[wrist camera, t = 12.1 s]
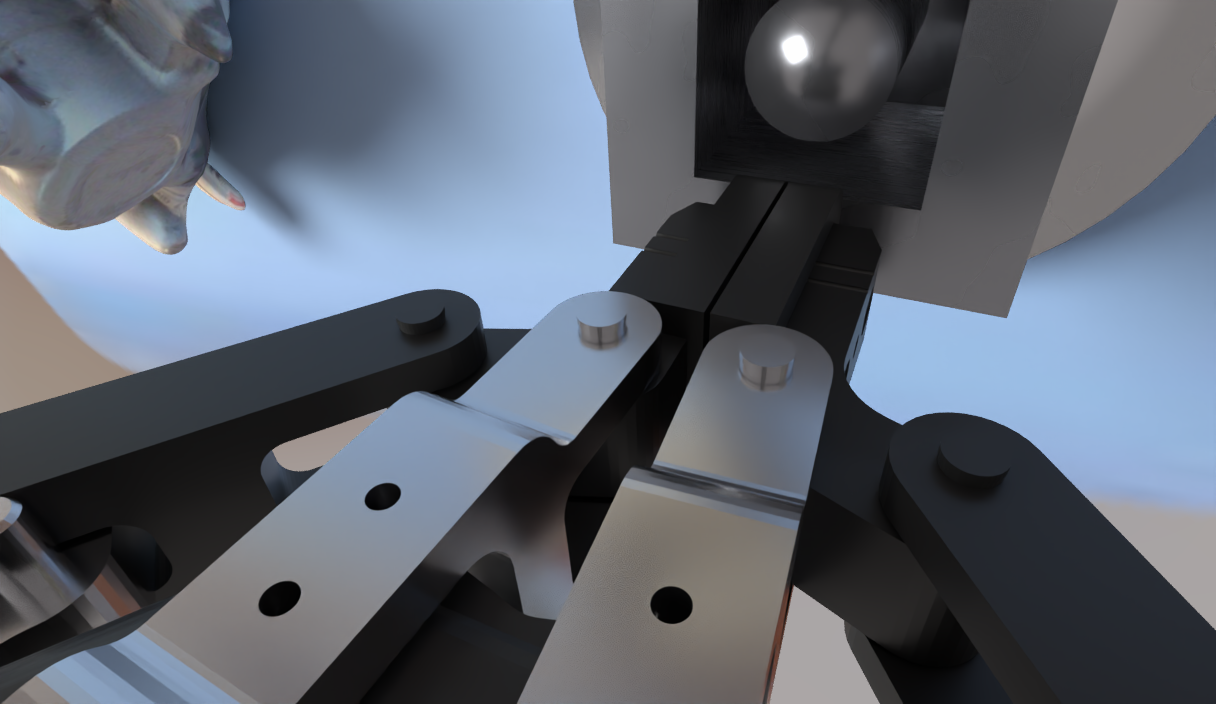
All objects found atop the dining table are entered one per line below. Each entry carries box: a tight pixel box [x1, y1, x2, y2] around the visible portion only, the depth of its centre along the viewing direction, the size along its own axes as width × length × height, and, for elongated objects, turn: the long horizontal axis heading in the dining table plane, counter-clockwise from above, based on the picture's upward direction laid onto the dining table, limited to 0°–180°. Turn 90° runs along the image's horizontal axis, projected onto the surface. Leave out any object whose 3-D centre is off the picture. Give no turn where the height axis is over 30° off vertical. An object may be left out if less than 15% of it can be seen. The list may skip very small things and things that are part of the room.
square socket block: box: [600, 0, 1118, 318], centre depth 11 cm, size 6×6×4 cm
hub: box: [574, 0, 1216, 259], centre depth 11 cm, size 11×11×5 cm
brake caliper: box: [0, 0, 245, 255], centre depth 19 cm, size 11×11×12 cm
